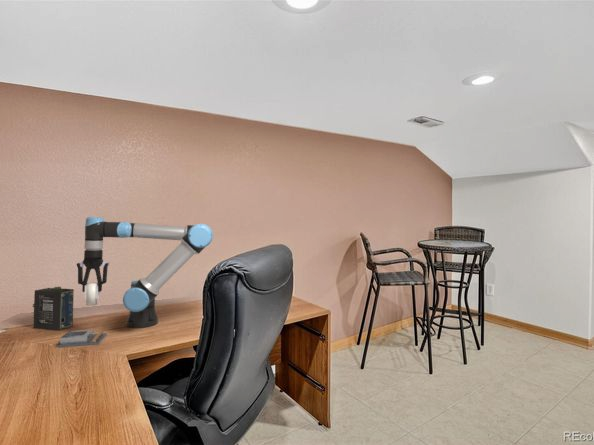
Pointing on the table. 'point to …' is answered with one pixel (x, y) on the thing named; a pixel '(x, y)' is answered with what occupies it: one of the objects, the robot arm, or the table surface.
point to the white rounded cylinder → (91, 294)
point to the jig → (81, 338)
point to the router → (53, 308)
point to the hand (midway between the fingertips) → (91, 298)
